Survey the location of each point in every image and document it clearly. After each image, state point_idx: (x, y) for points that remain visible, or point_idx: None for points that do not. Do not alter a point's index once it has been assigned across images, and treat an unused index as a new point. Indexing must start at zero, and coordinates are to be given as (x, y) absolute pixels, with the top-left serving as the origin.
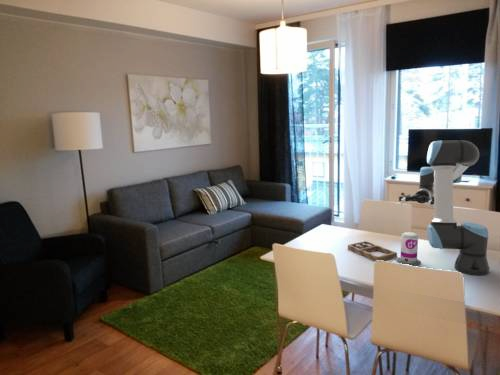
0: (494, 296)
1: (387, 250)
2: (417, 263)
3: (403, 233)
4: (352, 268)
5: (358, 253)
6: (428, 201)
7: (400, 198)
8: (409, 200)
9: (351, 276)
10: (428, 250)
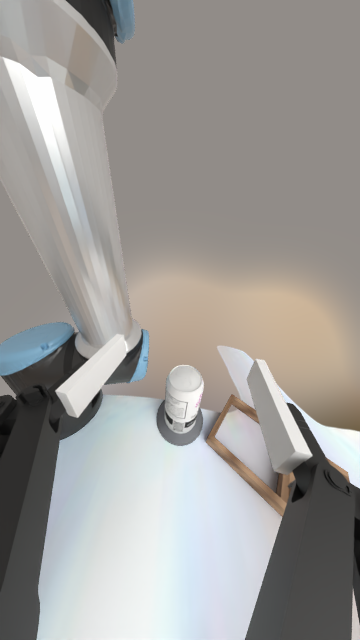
0: None
1: (234, 456)
2: (164, 406)
3: (199, 378)
4: (246, 367)
5: None
6: (118, 339)
7: (357, 493)
8: (269, 575)
9: (234, 350)
10: (97, 609)
